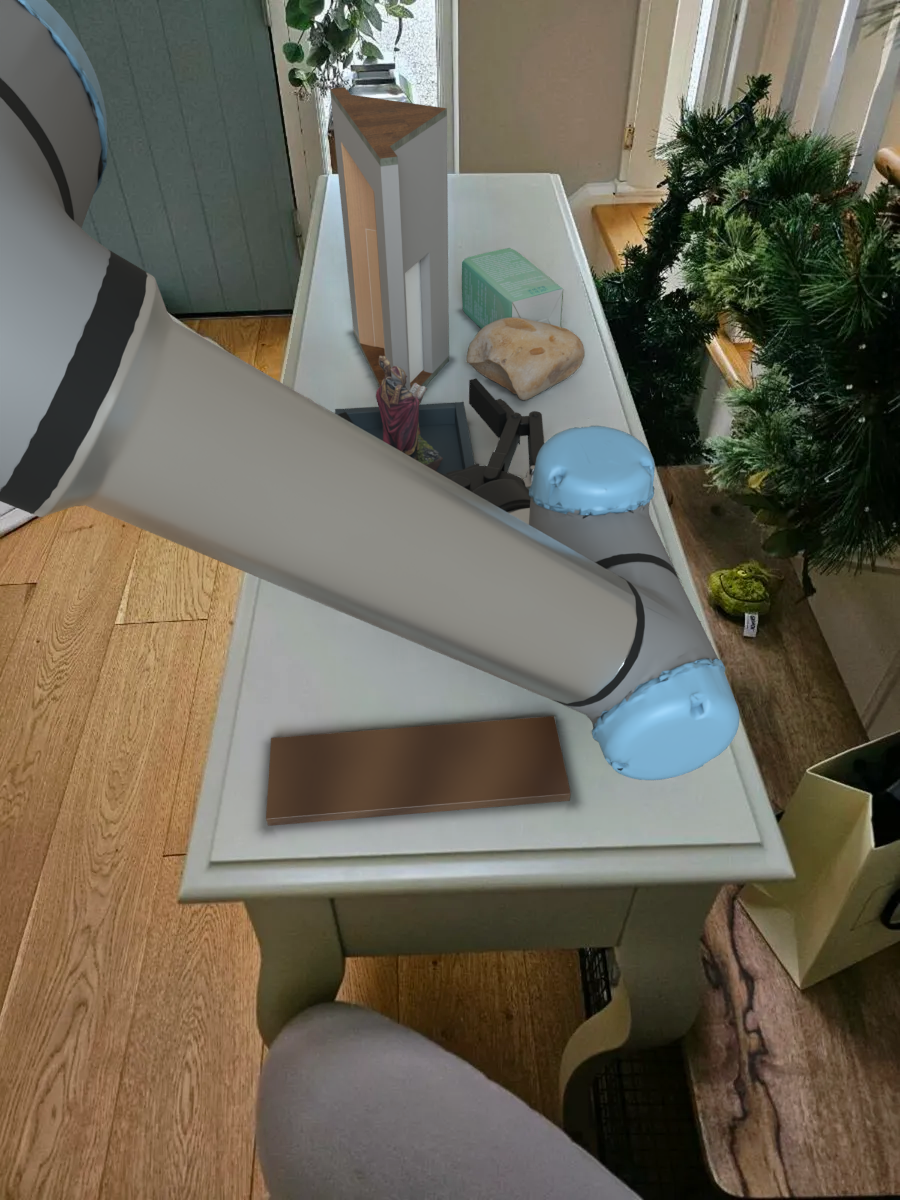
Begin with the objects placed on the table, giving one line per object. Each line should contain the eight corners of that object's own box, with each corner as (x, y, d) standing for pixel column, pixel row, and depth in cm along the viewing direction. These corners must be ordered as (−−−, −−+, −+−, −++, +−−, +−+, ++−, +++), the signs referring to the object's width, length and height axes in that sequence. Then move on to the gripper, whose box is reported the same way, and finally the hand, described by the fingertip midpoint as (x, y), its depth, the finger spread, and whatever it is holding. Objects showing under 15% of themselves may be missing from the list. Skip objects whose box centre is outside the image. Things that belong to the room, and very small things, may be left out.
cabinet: (353, 334, 110) (329, 88, 89) (425, 322, 112) (418, 79, 91) (396, 424, 96) (380, 158, 76) (478, 409, 98) (483, 145, 78)
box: (508, 297, 116) (510, 243, 110) (560, 344, 108) (566, 288, 102) (460, 310, 114) (460, 255, 108) (509, 359, 105) (512, 302, 100)
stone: (578, 333, 105) (593, 307, 97) (574, 418, 104) (589, 399, 96) (467, 324, 104) (473, 297, 96) (462, 410, 103) (467, 390, 95)
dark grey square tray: (337, 514, 85) (334, 490, 83) (337, 431, 95) (335, 408, 93) (477, 505, 86) (478, 481, 84) (463, 424, 96) (463, 401, 94)
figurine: (394, 488, 87) (387, 386, 78) (362, 455, 91) (353, 354, 82) (447, 467, 89) (446, 365, 80) (414, 435, 93) (410, 335, 84)
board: (267, 826, 62) (265, 819, 61) (273, 744, 66) (271, 737, 66) (569, 801, 63) (570, 793, 62) (553, 723, 68) (554, 715, 67)
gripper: (371, 620, 69) (291, 472, 82) (633, 532, 76) (520, 409, 89) (364, 552, 64) (280, 405, 77) (647, 464, 71) (525, 344, 84)
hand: (409, 407), depth 83 cm, fingers open, 13 cm apart
